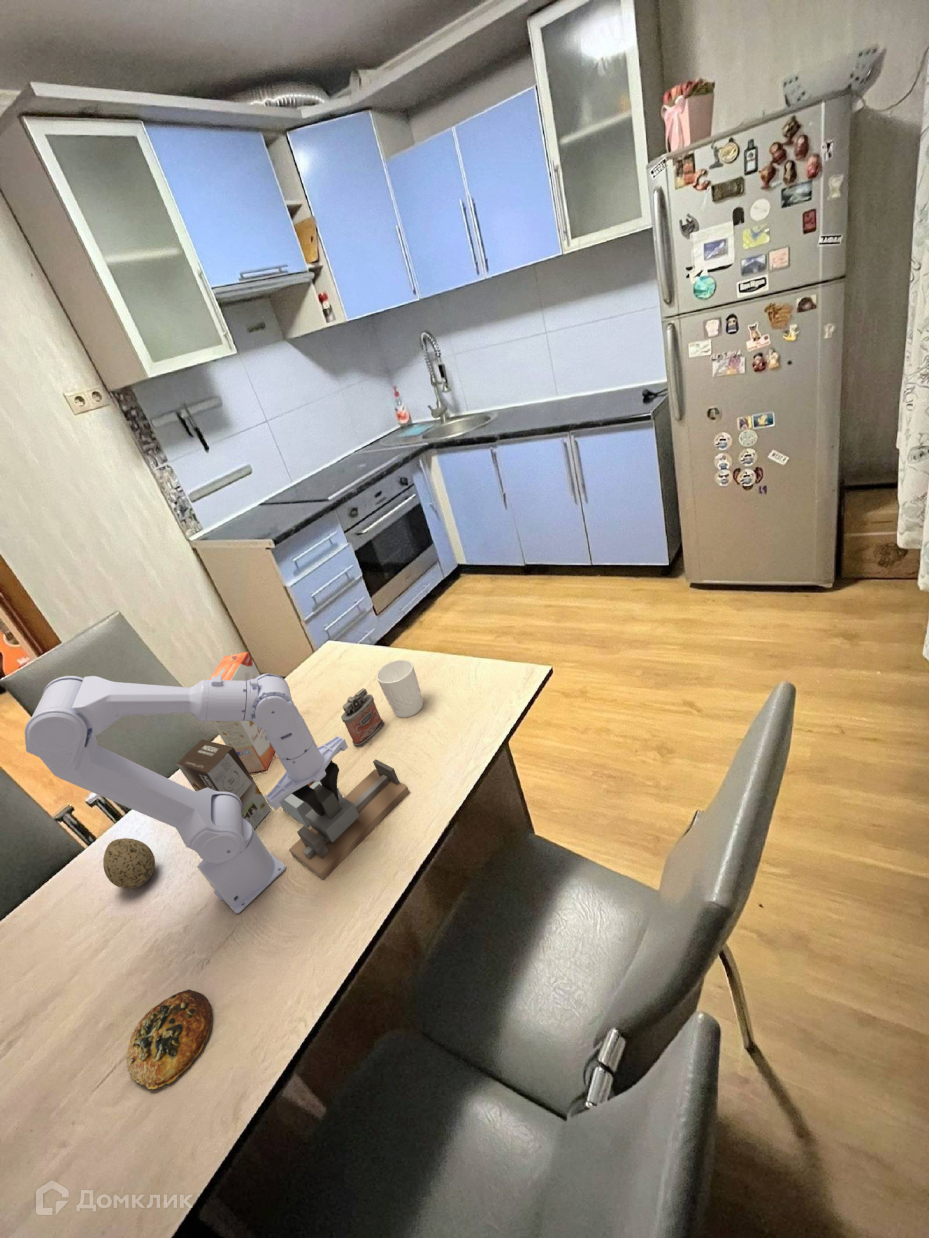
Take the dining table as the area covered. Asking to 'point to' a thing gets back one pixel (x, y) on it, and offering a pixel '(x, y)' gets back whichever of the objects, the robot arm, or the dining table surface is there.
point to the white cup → (400, 687)
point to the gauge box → (298, 806)
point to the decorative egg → (128, 863)
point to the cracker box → (243, 733)
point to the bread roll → (169, 1039)
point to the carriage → (332, 814)
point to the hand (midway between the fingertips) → (327, 806)
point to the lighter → (361, 718)
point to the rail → (372, 805)
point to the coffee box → (224, 777)
